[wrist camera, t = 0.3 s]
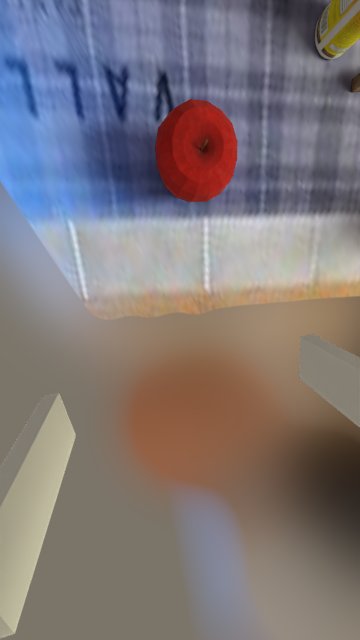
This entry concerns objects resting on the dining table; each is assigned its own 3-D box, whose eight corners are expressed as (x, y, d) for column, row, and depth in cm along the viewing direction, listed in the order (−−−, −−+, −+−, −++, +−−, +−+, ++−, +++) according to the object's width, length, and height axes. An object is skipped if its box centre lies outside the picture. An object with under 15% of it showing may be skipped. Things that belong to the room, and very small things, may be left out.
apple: (138, 151, 32) (140, 108, 22) (199, 119, 32) (229, 60, 22) (171, 221, 35) (186, 211, 25) (225, 191, 35) (262, 170, 25)
